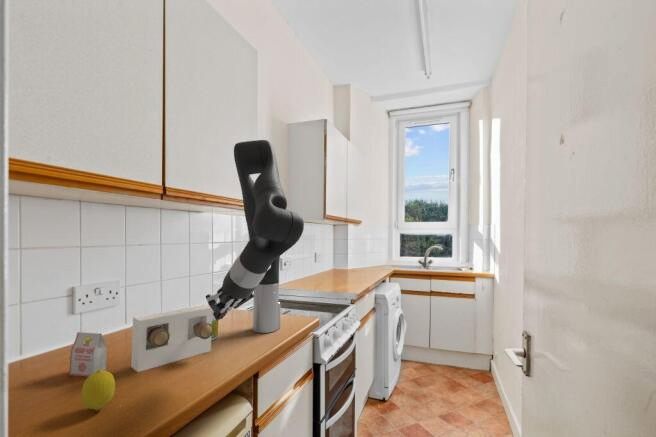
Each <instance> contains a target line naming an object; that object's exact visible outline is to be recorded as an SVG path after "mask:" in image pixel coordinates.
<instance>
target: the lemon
mask: <svg viewBox="0 0 656 437" xmlns="http://www.w3.org/2000/svg"><path fill="white" fill-rule="evenodd" d="M115 390H116V380H115V377H114V375H113V374H112V373H111V372H110V371H108V370H106V371H104V370H102V369H99V370H97V371H96V372H94V373H93V374H91V375H90V376H89V377H87V378H86V379H85V381H84V383H83V385H82V388H81V396H80V397H81V402H82V405H84V407H85V408H87V409H91V410H95V411H97V412H98V411H100V410H101V408H103V407H104V406H106V405H107V404H108V403H109V402H111V400H112V399H113V397H114V394H115V392H116V391H115Z"/></svg>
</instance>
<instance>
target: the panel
mask: <svg viewBox="0 0 656 437" xmlns="http://www.w3.org/2000/svg"><path fill="white" fill-rule="evenodd" d="M200 321H205V322H207V323H210V324H212V309H211V307H210V306H209V305H205V304H203V305H197V306H191V307H185V308H177V309H173V310H167V311H162V312H155V313H150V314H144V315H143V314H142V315H138V316H133V317H132V337H131V358H130V363H131V364H130V367H131V368H132V369H133V370H134V371H135V372H137V373H140V372H143V371H147V370H151V369H153V368H157V367H161V366H165V365H167V364H171V363H175V362H179V361H182V360H184V359H188V358H191V357H194V356H198V355H201V354H205V353H208V352H211V351H212V340H211V336H210V337H209V338H208V339H201V338H199V337H197V336H196V335H195V334H194V330H193V326H194V324H196V323H198V322H200ZM156 327H161V328H163V329H165V330H167V331H168V332H169V334H170V337H169V340H168V342H167V343H166V344H165V345H164V346H161V347H156V346H154V345H152V344H151V343H149V341H148V333H149V331H150V330H152V329H154V328H156Z"/></svg>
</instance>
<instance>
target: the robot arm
mask: <svg viewBox="0 0 656 437" xmlns="http://www.w3.org/2000/svg"><path fill="white" fill-rule="evenodd" d="M233 158H234V163H235V167H236V171H237V175H238V176H237V177H238V180H239V185H240V189H241V196H242V201H243V202H242V203H243V204H242V205H243V211H244V217H245V222H246V226H247V227H246V228H247V231H248V232H247V234H248V239H249V240H248V241H247V243H246V244H245V246H244V247H243V250H242V251H241V252H240V254H239V256H237V257H236V259H235V260H234V262H233V263H232V265H231V267H230V269H229V270H228V272H227V273H226V275H225V276H224V278H223V281H222V285H221V287H220V288H218V289H217V291H216V294H213V295H212V294H210V293H209V294H208V293H207V295H205V299H206V302H207V304H208V306H209V307H211V309H212V310H213V311H214V313H213V315H214V317H215V319H216V320H218V321H219V320H220V321H221V320H222V319H223V318H224V317H225V316H226V315H227V314H228V312H231V310H233V309H234V310H236V309H238V308H240V307H242V306H243V305H244V304H245V303H247V302H249V301H250V300H252V299H253V306H252V308H253V311H252V312H253V313H252V331H253V332H255V333H261V334H266V333H267V334H268V333H274V332H276V331H278V329H280V328H281V306H282V305H281V302H280V301H279V300H280V299H279V298H280V260H281V256H282V255H283V254H285V253H286V252H287V251H289V249H291V248H292V247H294V245H296V244H297V243H298V241H299V240H300V239H301V237H302V234H303V232H304V229H305V226H304V225H305V224H304V220H303V218H302V216H301V215H299V213H297V212H294V211H290V210H287V208H288V201H287V197H286V194H285V191H284V189H283V187H282V184H281V181H280V173H279V167H278V163H277V158H276V153H275V150H274V147H273V145H272V143H271V141H268V140H267V139H256V140H248V141H240V142H236V143H235V145H234V146H233ZM256 174H259V175H258V176H257V178H256V179H255V181H254V180H253V178H252V177H251V175H256Z"/></svg>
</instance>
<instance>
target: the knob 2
mask: <svg viewBox="0 0 656 437" xmlns="http://www.w3.org/2000/svg"><path fill="white" fill-rule="evenodd" d="M193 330H194V334H195V335H196V336H197V337H199V338H201V339H208V338H209V337H210V336H211V335H212V333H213V330H214V328H213V326H212V324H210V323H207V322H205V321H200V322H198V323H196V324H194V326H193Z"/></svg>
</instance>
